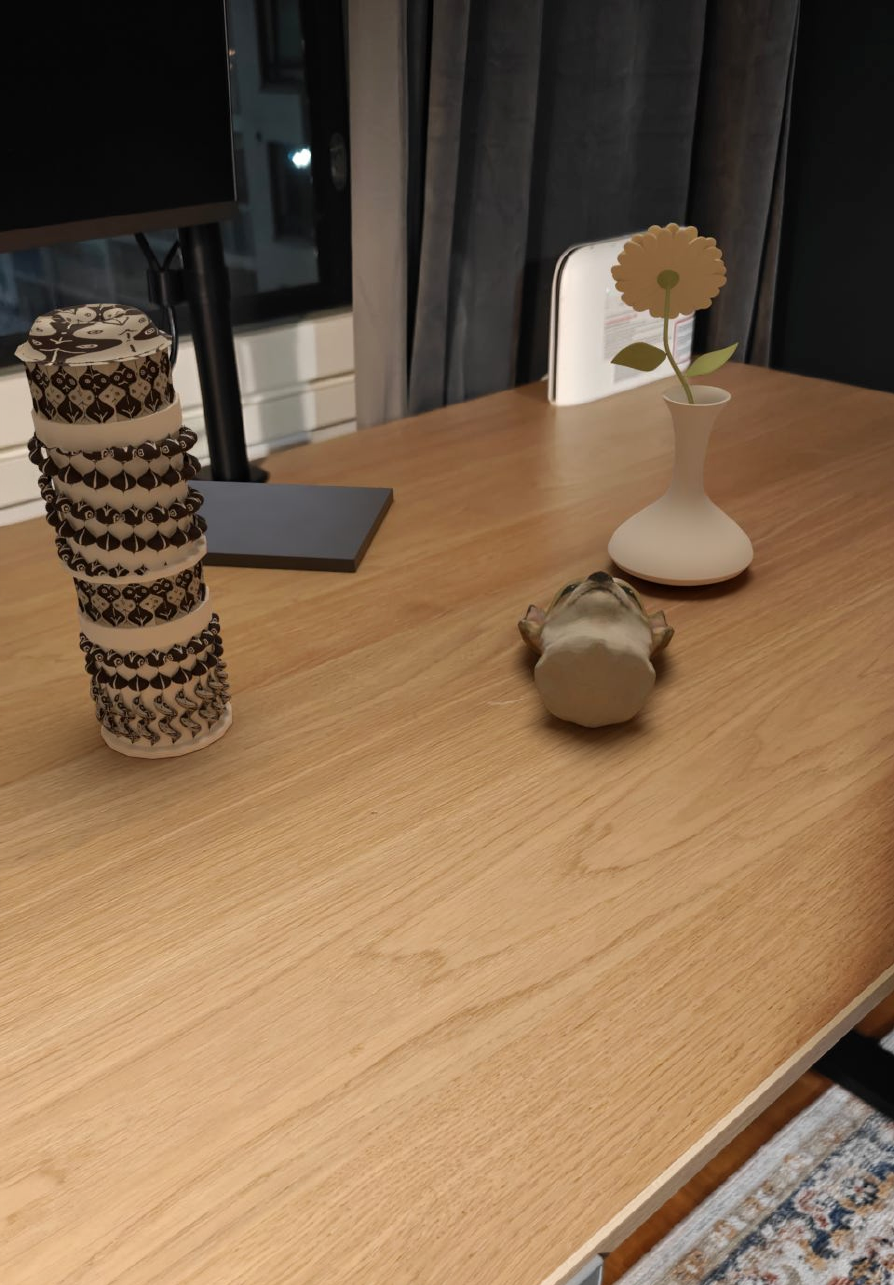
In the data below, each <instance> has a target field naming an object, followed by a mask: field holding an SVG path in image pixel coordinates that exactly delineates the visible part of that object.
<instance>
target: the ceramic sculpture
mask: <svg viewBox="0 0 894 1285" xmlns="http://www.w3.org/2000/svg"><path fill="white" fill-rule="evenodd" d="M517 627H518V631H519V633H520V635H521V638H522V640H523V641H524V643H525V644H526V646H528V647H529V648H530V649H532V650H533V651H534V652H536V653H537V654H538V655H540V656H541V657H539V659H538V662H537V663H536V665H535V666H534V670H533V672H534V674H533V675H534V676H533V677H534V681H535V686H536V688H537V691H538V694H539V696H540V698H541V700H542V702H543V704H544V705H545V706H546V708H547V710H548V711H549V712H550V713H551V714H552V715H553V716H555V717H556V718H558V719H560V720H562V721H566V722H571V723H574V724H576V725H579V726H583V727H585V728H593V729H596V728H599V727H604V726H609V725H613V724H621V723H624V722H626V721H628V720H631V719H632V718H634V717H635V715H636V714H638V713H639V711H640V710H641V709H642V708H643V707H644V706H645V704H646V702H647V701H648V699H649V697H650V695H651V693H652V690H653V689H654V686H655V683H656V678H657V675H656V670H655V669H654V666H653V664H652V662H651V661H650V660H651V659H653V658H654V657H656V656H657V655H660V653H663V651H665V649H666V648H668V647H669V644H670V642H672V639H673V637H674V634H675V629H674V627H672V626H670V625H668V623H667V620H666V615H665V612H664V610H663V609H660V610H658V611H656V612H655V613H652V614H649V615H648V613H647V610H646V608H645V605H644V601H643V599H642V597H641V595H640V593H639V592H638V591H637V590H636V588H635V587H633V586H632V585H631V584H630V583H629V582H627V581H625V580H623V579H621V578H618V577H613V576H611V574H609V573H608V572H605V571H602V570H599V571H595V572H592V573H591V574H590V575H588V576H579V577H576V578H573V579H572V580H570V581H568V582H567V583H565V584H563V585H562V586H561V587H560V588H559V589H558V590H557V592H556V593H555V595H554V597H553V599H552V601H551V603H550V605H549V607H548V609H547V610H543V609H541V608H538V607H536V605H534V604H532V603H531V604H529V605H528V608H527V611H526V614H525V617H523V619H520V620H519V621H518V623H517Z"/></svg>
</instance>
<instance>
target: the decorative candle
mask: <svg viewBox="0 0 894 1285" xmlns="http://www.w3.org/2000/svg"><path fill="white" fill-rule="evenodd" d="M171 345H173V336H172V335H170V334H169V333H167V332H165V331H163V330H161V329H158V327H157V326H156V324H155V323H154V322H153V321H152V319H151V318H150V317H149V315H147V314H146V313H145V312H144V311H142V310H140V309H138V308H136V307H134V306H131V305H127V304H120V303H89V304H88V303H87V304H80V305H72V306H66V307H62V308H58V309H53V310H50V311H48V312H46V313H44V314H42V315H40V316H38V317H37V318H36V319H35V320H34V322H33V324H32V326H31V328H30V331H29V333H28V337H27V340H26V342H24V343H22V344H19V345H18V346H17V348H16V350H15V352H14V355H15V356H16V357H17V358H19V359H20V360H21V361H23V362H22V363H23V366H24V370H25V375H26V380H27V384H28V388H29V392H30V396H31V401H32V409H31V411H30V414H31V418H32V422H33V430H34V432H33V436H32V437H31V438H29V440H28V441H27V444H26V447H27V450H28V451H29V452H28V455H27V456H28V461H29V462H30V463H31V464H33V465H35V466H37V467H38V471H39V472H40V473H42V474H41V475H40V476H39V477H38V479H37V485H38V488H40V496H41V498H42V500H44V501H45V505H44V510H45V512H46V516H45V520H46V523H48V525H49V526H51V527H54V532H55V533H56V534H57V536H56V537H55V539H54V544H55V546H56V547H57V551H56V553H57V556H58V558H59V559H60V560H59V561H60V565H61V567H62V568H63V569H64V570H65V572H66V573H67V574H68V575H69V576H70V577H72V580H73V583H74V588H75V591H76V592H75V593H76V596H77V601H78V604H77V610H76V612H77V616H78V620H79V626H80V629H81V630H80V631H79V634H78V636H79V640H80V641H79V643H78V644H79V645H78V646H79V648H80V649H81V651H82V652H83V653H85V656H84V661H85V665H84V670H85V672H86V673H87V674H88V675H91V678H90V682H89V685H90V688H89V694H90V697H91V699H92V701H93V702H94V703H95V704H94V705H95V711H94V712H95V714H94V715H95V718H96V720H97V721H98V723H99V724H100V725H101V728H100V735H101V737H102V739H103V740H104V742H105V744H106V745H107V746H108V747H109V749H111V750H114V751H116V752H118V753H121V754H122V755H125V756H127V757H133V758H142V759H151V760H155V759H163V758H164V759H165V758H171V757H180V756H183V755H186V754H189V753H193V752H196V751H198V750H202V749H205V748H207V747H208V746H210V745H211V744H213V743H214V742H216V741H217V740H219V739H220V738H222V737H223V736H224V735H226V732H227V731H228V729H229V728H230V726H231V725H232V724H233V723H234V722H233V706H232V703H230V700H231V699H232V695H231V694H230V693H229V692H227V691H228V690H229V689H230V687H231V686H230V683H229V682H228V681H227V680H228V678H229V673H228V672H227V671H225V669H226V668H227V666H228V664H227V661H225V660H223V659H222V658H220V657H221V656H223V654H224V652H225V651H224V650H225V648H224V647H223V645H222V644H223V638H222V637H221V635H219V633H220V632H221V625H220V623H219V622H220V616H219V614H218V613H216V612H214V611H213V605H212V600H211V592H210V587H209V586H207V584H206V582H205V576H204V565H202V561H201V558H202V557H203V556H204V555H205V554H206V537H205V535H204V534H203V533H204V532H206V530H207V524H206V521H205V519H204V518H203V517H202V516H200V515H198V514H195V512H197V511H198V510H199V509H200V507H201V506H202V505H203V503H204V497H203V496H202V495H201V494H200V493H199V491H198V490H196V489H194V488H192V487H189V486H188V485H187V480H192V479H193V478H194V477H195V476H196V474H198V473H200V472H201V471H202V463H201V462H200V460H199V458H197V456H195V455H193V454H190V453H189V451H191V450H192V449H193V448H194V446H195V445H196V444H197V442H198V439H199V438H198V434H197V433H196V431H193V430H192V429H191V428H190V427H187V426H186V425H185V424H183V413H182V406H181V398H180V394H179V392H177V391H176V390H175V387H174V379H173V369H172V368H173V367H172V363H171V361H170V356H169V347H170V346H171ZM42 449H45V452H46V457H44V455H43V453H42Z"/></svg>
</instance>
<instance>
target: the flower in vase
mask: <svg viewBox="0 0 894 1285" xmlns="http://www.w3.org/2000/svg"><path fill="white" fill-rule="evenodd" d="M698 233H699V231H698V229H697V227H696V226H692V225H689V226H687V227H685V228H680V226H679V225H678V224H677V223H675V222H669V224H667V225H666V227H662V228H661V227H660V226H659V225H657V224H656V225H655V224H654V225H651V226H650V227H648V229H647V231H646V232H645V233H643V234H641V233H636V234H633V235H632V237H631V239H630V240H628V241H626V242H625V243H624V244H623V250H622V251H621V252H620V253H619V254H618V255H617V256H616V260H617V263H619V264H614V265H612V266H611V267H610V273H611V277H612V279H613V281H614V282H615V284H614V287H615V290H616V291H618V292H619V293H622V294H621V295H620V298H621V299H620V300H621V301H622V302H623V303H624V304H625V305H626V306H628V307H632V309H633V310H634V311H635V312H637V313H642V312H646V311H648V312H649V316H650V317H651V318H654V319H659V318H660V319H663V333H662V337H663V338H662V340H663V349H664V350H663V349H661V348H660V347H656V346H654V345H653V344H651V343H647V342H644V341H636V342H633V343H631V344H628V345H626V346H625V347H623V348H622V349H621V350H620V351H619V352H618V353H617V354H616V355H615V356H613V358H612V359H611V361H610V362H609V363H610V364H612V365H618V366H623V367H627V368H629V369H633V370H637V371H641V372H646V373H648V372H652V371H654V370H656V369H658V367H660V366H661V365H662V364H663V363H664V362H665V360H666V359H668V361H669V363H670V366H671V367H672V369H673V371H674V373H675V374H676V377H677V378H678V379H679V381H680V383H681V385H677V386H672V387H669V388H666V389H664V390H663V391H662V392H661V398H662V399H663V401H664V402H665V404H666V406H667V408H668V410H669V412H670V415H671V420H672V423H673V430H674V431H673V432H674V463H673V470H672V476H671V481H670V484H669V486H668V487H667V490H666V491H665V492H664V494H662V496H660V497H659V498H658V499H657V500H655V501H654V502H652V503H650V504H649V505H646V507H644V508H643V509H641V510H640V511H638V512H637V513H634V514H633V515H632V516H631V517H629V518H627V519H626V520H625V521H624V522H623V523H622V524H621V525H619V527H617V528H616V529H615V530H614V532H613V534H612V535H611V537H610V540H609V542H608V545H607V551H608V555H609V556H610V557H611V559H612V561H613V562H614V563H615V565H616V566H617V567H618V568H619V569H621V570H622V571H624V572H625V573H627V574H629V575H631V576H634V577H636V578H638V579H642V580H645V581H648V582H652V583H656V584H660V585H667V586H678V587H694V586H695V587H696V586H704V585H711V584H717V583H721V582H724V581H728V580H730V579H733V578H735V577H737V576H739V575H740V574H742V573H743V572H744V571H745V570H746V569H747V567H748V566H749V565H750V564H751V563H752V561H753V559H754V548H753V545H752V542H751V539H750V538H749V535H747V534H746V532H745V531H744V530H743V529H742V528H741V527H740V525H738V524H737V522H735V521H734V520H733V519H732V518H731V517H730V516H729V515H728V514H727V513H725V512H724V511H723V510H722V509H721V508H719V507H718V506H717V505H716V504H715V503H714V502H713V501H712V500H711V498H710V497H709V496H708V494H707V493H706V490H705V487H704V467H705V458H706V452H707V448H708V443H709V439H710V436H711V434H712V430H713V428H714V424H715V422H716V420H717V418H718V416H719V414H720V413H721V411H722V410H723V409H724V407H726V405H728V403H729V402H730V401H731V399H732V394H731V393H730V392H729V391H727V390H725V389H723V388H720V387H715V386H711V385H701V384H688V383H687V380H686V379H685V378H693V377H699V376H706V375H708V374H711V373H713V372H715V371H717V370H718V369H719V368H721V367H722V366H723V365H725V363H727V362H728V360H730V358H731V357H732V355H733V354H734V352H735V351H736V349H737V347H738V344H739V342H736V343H734V344H732V345H730V346H728V347H726V348H722V349H718V350H714V351H711V352H708V353H704V354H702V355H701V356H699V357H697V359H695V361H694V362H693V363H691V365H690V366H689V367H688V368H687V370H686V373H685V374H684V375H683V373H682V372H681V370H680V368H679V365H678V364H677V363H676V361H675V359H674V357H673V355H672V352H671V349H670V346H669V338H668V337H669V333H668V332H669V320H674V319H677V318H678V317H679V315H683V316H685V317H686V316H690V315H692V314H693V313H694V312H695V311H699V310H706V309H709V307H710V306H712V303H713V301H712V299H711V298H715V297H717V296H718V295H719V294H720V288H722V287H723V286H724V285H725V284H727V280H728V279H727V277H726V276H725V274H726V273H727V267H725V266H724V265H725V263H724V260H722V259H721V258H722V256H723V252H722V249H719V248H718V247H717V240H716V239H715V238H714V237H704V236H698Z"/></svg>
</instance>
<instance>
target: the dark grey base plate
mask: <svg viewBox="0 0 894 1285" xmlns="http://www.w3.org/2000/svg"><path fill="white" fill-rule="evenodd" d="M187 485H188V486H189V487H192V488H194V489H196V490H198V491H199V493H200V494H201V495H202V496H203V497H204V503H203V505H202V506H201V507H200V509H199V510H198V511H197V512H195V514H198V515H200V516H202V517H203V518H204V519H205V521H206V524H207V530H206V532H204V533H203V534H204V535H205V537H206V554H205V555H204V556H203V557H202V558H201V561H202V566H209V567H210V566H212V567H230V568H231V567H233V568H251V569H253V568H254V569H269V570H270V569H272V570H273V569H274V570H292V571H293V570H294V571H310V572H311V571H312V572H334V573H351V574H352V573H356V572H357V570H358V568H359V566H360V564H361V562H362V561H363V558H364V557H365V555H366V553H367V551H368V549H369V547H370V546H371V544H372V542H373V540H374V538H375V536H376V534H377V532H378V531H379V528H380V527H381V525H382V523H383V521H384V519H385V517H386V516H387V513H388V511H389V510H390V508H391V506H392V504H393V502H394V501H395V500H394V488H393V487H374V486H372V487H370V486H349V485H348V486H345V485H319V484H317V485H316V484H295V483H294V484H293V483H268V482H267V483H266V482H240V481H215V480H214V481H213V480H212V481H211V480H193V479H189V480H187Z"/></svg>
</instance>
